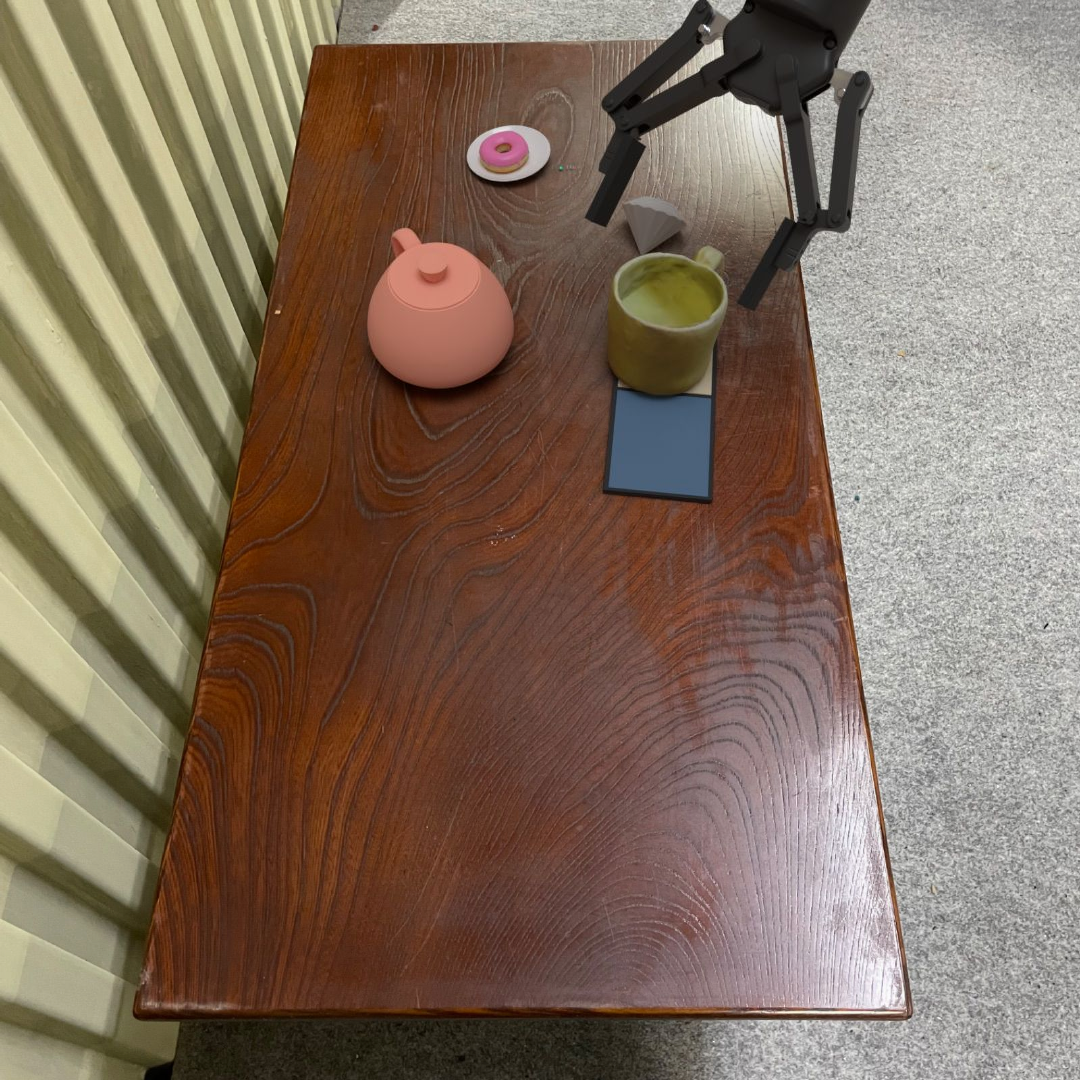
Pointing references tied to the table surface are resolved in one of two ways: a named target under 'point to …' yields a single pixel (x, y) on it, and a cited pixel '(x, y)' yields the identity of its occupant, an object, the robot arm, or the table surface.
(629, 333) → the mug
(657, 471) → the sorting mat
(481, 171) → the donut
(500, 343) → the sugar bowl
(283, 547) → the table surface
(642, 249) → the gemstone
